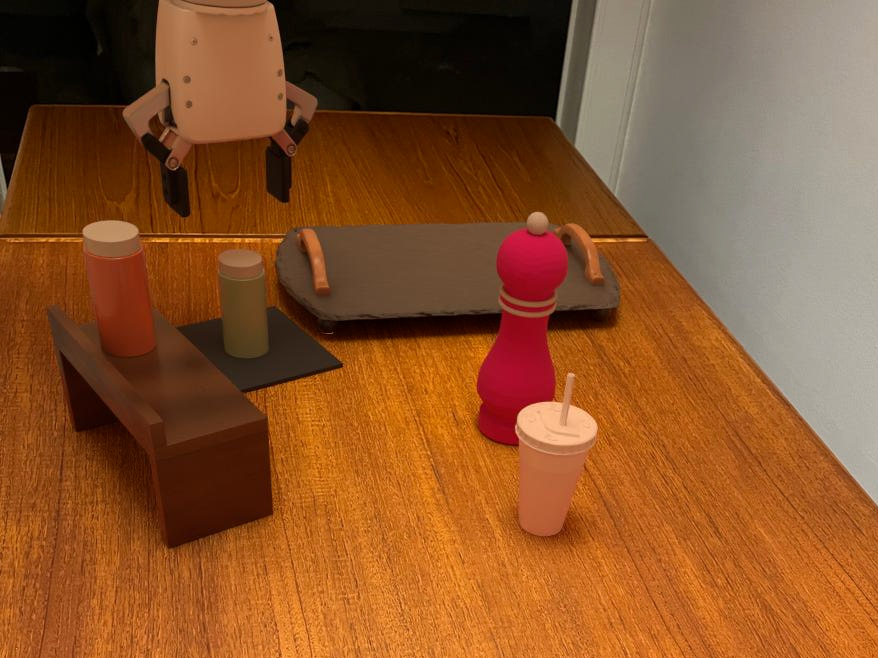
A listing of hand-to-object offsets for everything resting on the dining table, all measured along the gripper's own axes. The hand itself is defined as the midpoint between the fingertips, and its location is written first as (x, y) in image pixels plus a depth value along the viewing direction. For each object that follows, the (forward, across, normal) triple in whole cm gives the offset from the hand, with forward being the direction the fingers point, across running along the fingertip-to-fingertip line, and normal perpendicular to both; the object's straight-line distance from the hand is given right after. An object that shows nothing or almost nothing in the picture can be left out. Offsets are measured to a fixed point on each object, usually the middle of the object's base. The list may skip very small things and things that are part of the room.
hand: (229, 204), depth 91 cm
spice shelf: (+14, +14, +15) cm, 26 cm away
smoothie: (+14, -9, +37) cm, 41 cm away
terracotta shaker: (+6, +14, +10) cm, 19 cm away
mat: (+14, -1, 0) cm, 14 cm away
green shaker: (+14, -1, 0) cm, 14 cm away
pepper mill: (+14, -16, +24) cm, 32 cm away
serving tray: (+14, -28, -3) cm, 31 cm away
